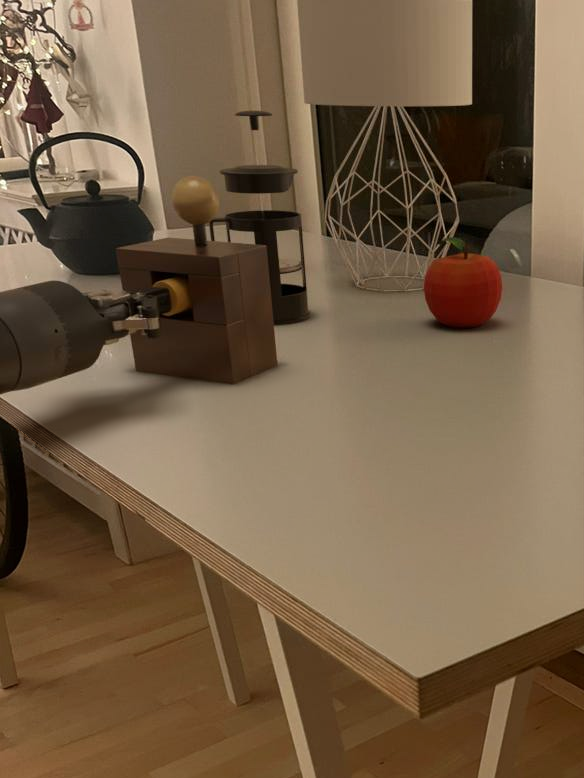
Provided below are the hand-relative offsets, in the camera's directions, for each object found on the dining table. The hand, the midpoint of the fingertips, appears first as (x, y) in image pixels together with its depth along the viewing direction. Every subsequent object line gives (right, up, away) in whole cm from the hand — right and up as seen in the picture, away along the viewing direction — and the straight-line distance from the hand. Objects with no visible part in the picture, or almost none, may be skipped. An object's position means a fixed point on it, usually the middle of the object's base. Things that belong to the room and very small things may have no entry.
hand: (163, 298), depth 95 cm
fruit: (+28, +6, +27) cm, 40 cm away
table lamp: (+18, +19, +49) cm, 56 cm away
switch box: (+2, -4, +8) cm, 10 cm away
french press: (+4, +8, +29) cm, 31 cm away
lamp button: (+1, -1, +2) cm, 2 cm away
